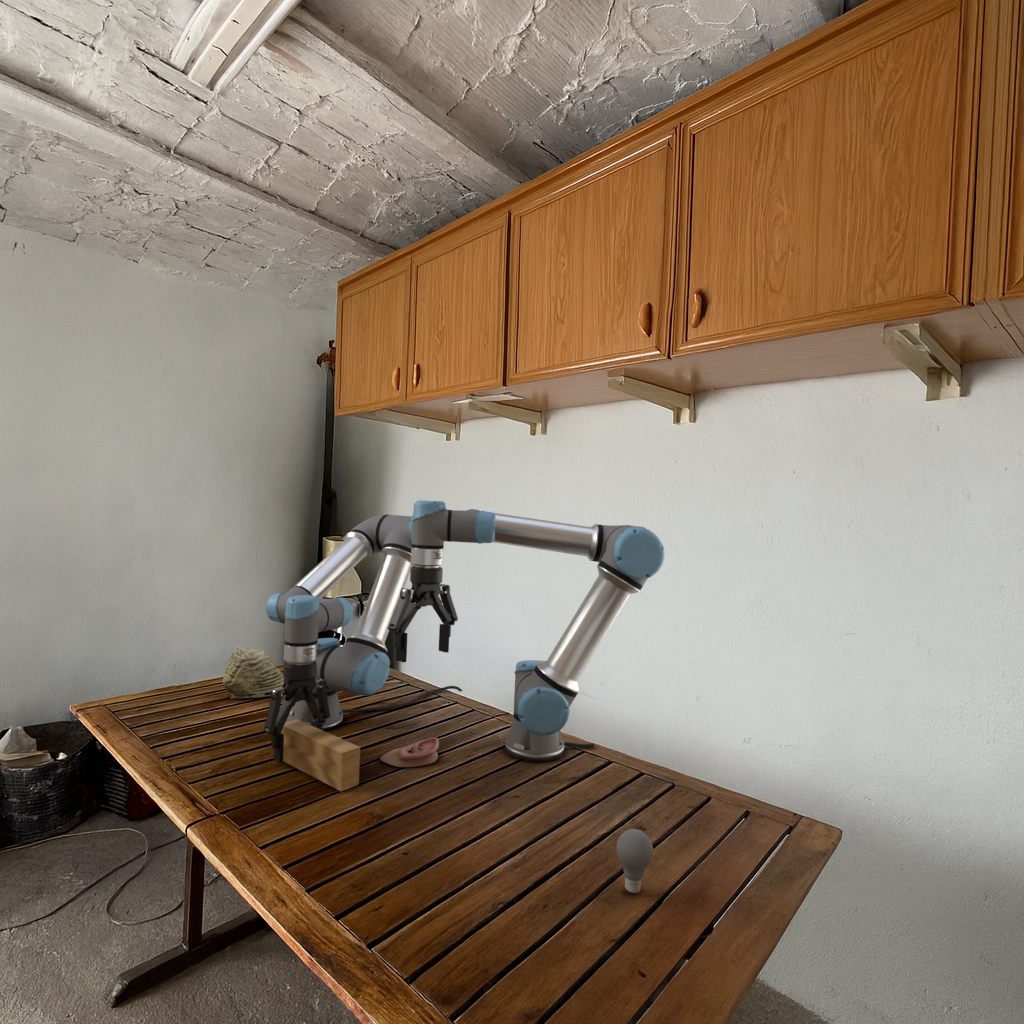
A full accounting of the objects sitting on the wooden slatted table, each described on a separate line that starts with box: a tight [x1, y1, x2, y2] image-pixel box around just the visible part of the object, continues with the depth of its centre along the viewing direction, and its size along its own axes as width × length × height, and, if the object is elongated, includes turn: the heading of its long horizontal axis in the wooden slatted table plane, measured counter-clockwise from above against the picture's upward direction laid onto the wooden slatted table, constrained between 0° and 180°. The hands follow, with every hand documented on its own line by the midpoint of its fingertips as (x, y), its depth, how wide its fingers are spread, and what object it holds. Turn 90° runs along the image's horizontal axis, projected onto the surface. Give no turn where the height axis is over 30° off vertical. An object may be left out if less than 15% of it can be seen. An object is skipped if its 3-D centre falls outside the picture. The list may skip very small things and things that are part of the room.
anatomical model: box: [379, 737, 440, 768], centre depth 155 cm, size 13×4×12 cm
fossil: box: [222, 646, 284, 699], centre depth 198 cm, size 9×18×15 cm, turn 132°
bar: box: [281, 719, 361, 792], centre depth 146 cm, size 25×5×8 cm, turn 51°
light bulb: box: [615, 828, 654, 894], centre depth 106 cm, size 6×6×10 cm
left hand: (296, 754), depth 151 cm, fingers open, 9 cm apart
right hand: (423, 656), depth 149 cm, fingers open, 13 cm apart
